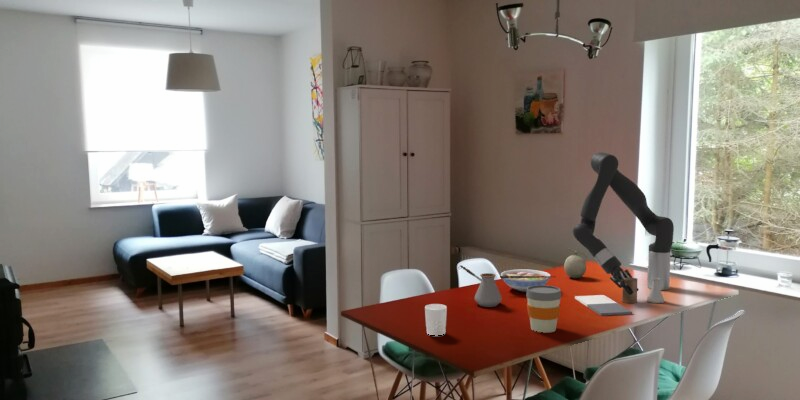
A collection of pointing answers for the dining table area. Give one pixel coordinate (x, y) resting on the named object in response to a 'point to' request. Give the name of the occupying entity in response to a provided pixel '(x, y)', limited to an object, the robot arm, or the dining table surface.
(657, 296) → the flask
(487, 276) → the coffee pot
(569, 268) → the fruit
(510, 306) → the dining table surface
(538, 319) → the reusable coffee cup
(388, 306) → the dining table surface
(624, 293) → the block
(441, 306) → the white cup
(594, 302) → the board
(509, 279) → the ramen bowl
